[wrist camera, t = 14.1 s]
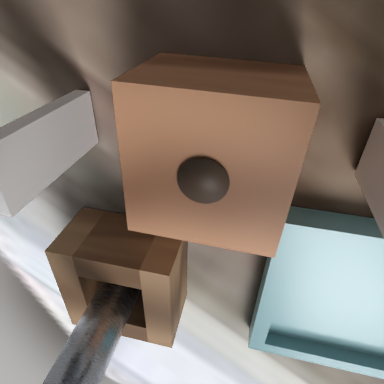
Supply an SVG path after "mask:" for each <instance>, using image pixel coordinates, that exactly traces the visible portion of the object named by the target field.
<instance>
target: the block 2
mask: <svg viewBox="0 0 384 384" xmlns="http://www.w3.org/2000/svg"><path fill="white" fill-rule="evenodd" d="M111 85H112V94H113V103H114V112H115V121H116V129H117V138H118V147H119V156H120V165H121V173H122V182H123V191H124V200H125V208H126V217H127V226H128V230H131V231H136V232H141V233H146V234H152V235H157V236H162V237H167V238H173V239H178V240H183V241H188V242H193V243H199V244H204V245H209V246H214V247H220V248H225V249H230V250H235V251H240V252H246V253H251V254H256V255H261V256H267V257H272V258H275V255H276V252H277V249H278V245H279V242H280V239H281V235H282V232H283V229H284V225H285V222H286V219H287V215H288V212H289V209H290V205H291V202H292V199H293V195H294V192H295V189H296V186H297V182H298V179H299V176H300V172H301V169H302V166H303V162H304V159H305V156H306V152H307V149H308V146H309V142H310V139H311V136H312V132H313V129H314V126H315V122H316V119H317V116H318V112H319V109H320V106H321V102H320V100H319V98H318V95H317V93H316V91H315V88H314V86H313V84H312V82H311V79H310V77H309V75H308V72H307V70H306V68H305V65H294V64H283V63H272V62H261V61H250V60H239V59H228V58H217V57H206V56H195V55H184V54H173V53H162V52H161V53H159V54H157V55H155V56H154V57H152V58H150V59H148V60H147V61H145V62H143V63H141V64H140V65H138V66H136V67H134V68H133V69H131V70H129V71H127V72H126V73H124V74H122V75H120V76H119V77H117V78H115V79H113V80H112V81H111Z"/></svg>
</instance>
